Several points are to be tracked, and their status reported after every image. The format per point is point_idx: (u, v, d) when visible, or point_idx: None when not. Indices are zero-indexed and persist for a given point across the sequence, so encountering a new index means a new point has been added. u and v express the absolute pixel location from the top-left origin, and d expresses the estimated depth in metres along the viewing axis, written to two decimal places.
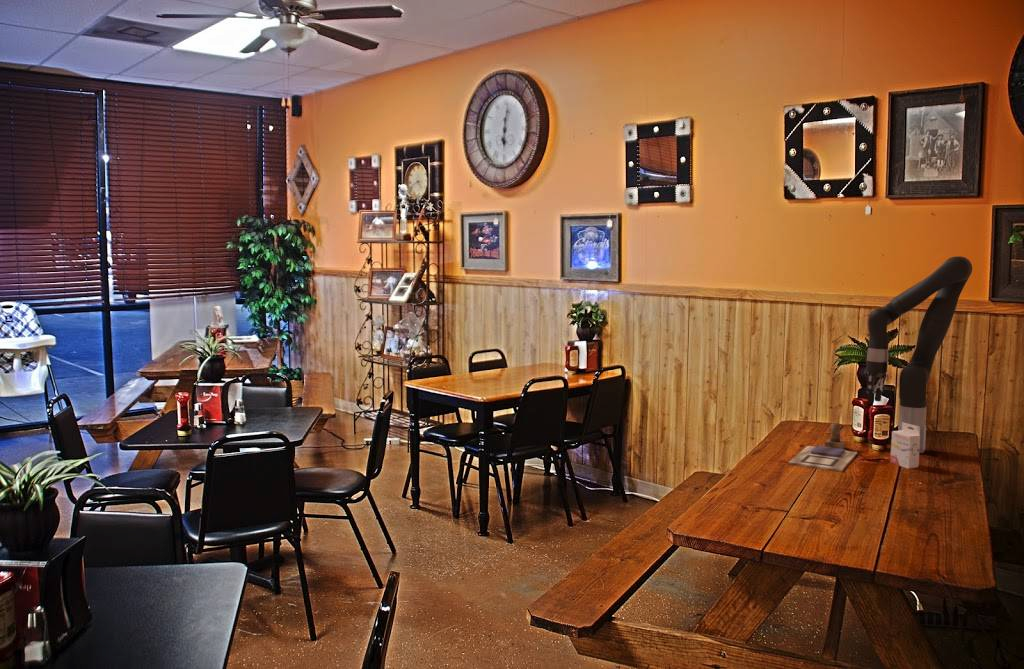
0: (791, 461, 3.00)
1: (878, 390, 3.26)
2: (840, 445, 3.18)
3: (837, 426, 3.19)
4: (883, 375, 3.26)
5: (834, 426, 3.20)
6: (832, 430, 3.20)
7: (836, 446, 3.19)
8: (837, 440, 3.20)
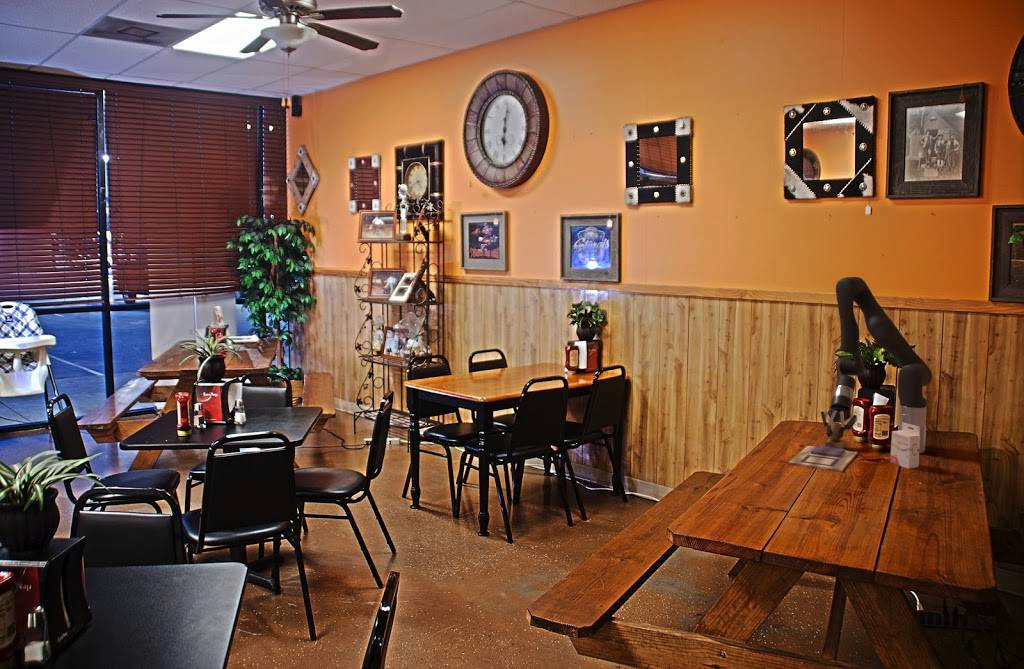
0: (791, 461, 3.00)
1: None
2: (840, 445, 3.18)
3: (837, 426, 3.19)
4: (854, 415, 3.21)
5: (834, 426, 3.20)
6: (832, 430, 3.20)
7: (836, 446, 3.19)
8: (837, 440, 3.20)
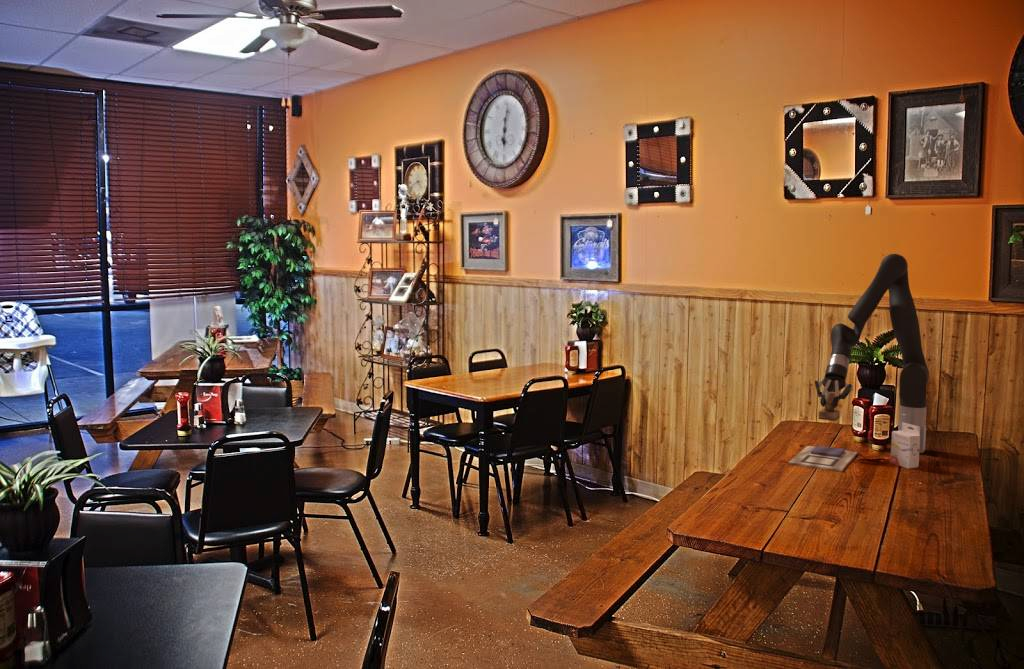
0: (791, 461, 3.00)
1: None
2: (834, 415, 3.06)
3: (831, 395, 3.08)
4: (849, 384, 3.10)
5: (828, 395, 3.08)
6: (826, 399, 3.09)
7: (830, 416, 3.07)
8: (831, 410, 3.09)
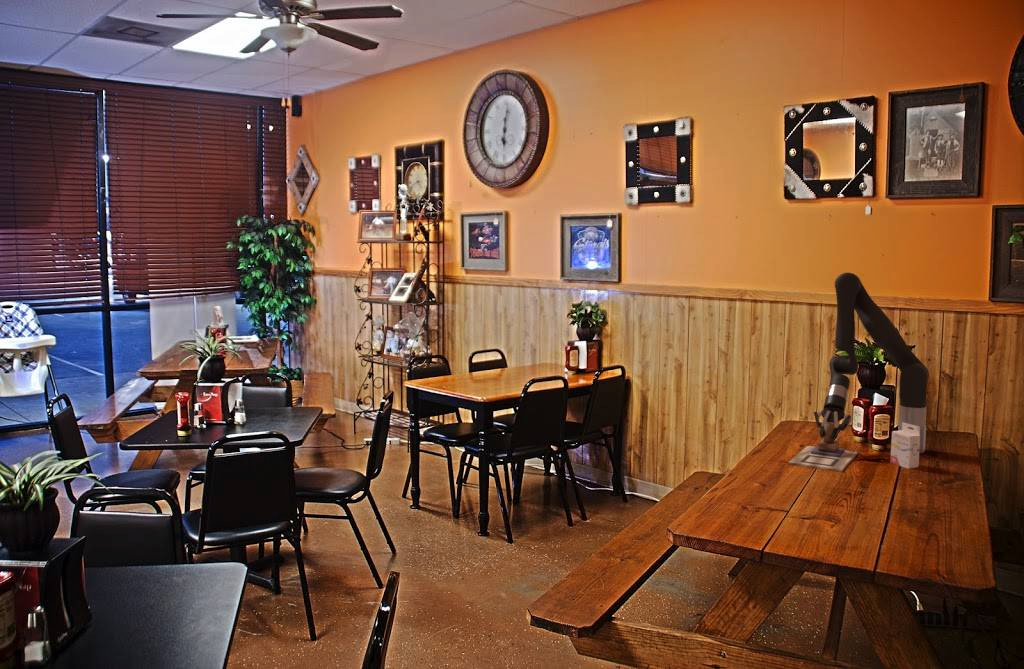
0: (791, 461, 3.00)
1: None
2: (834, 446, 3.08)
3: (830, 427, 3.09)
4: (848, 415, 3.11)
5: (827, 427, 3.09)
6: (825, 431, 3.10)
7: (830, 447, 3.08)
8: (831, 441, 3.10)
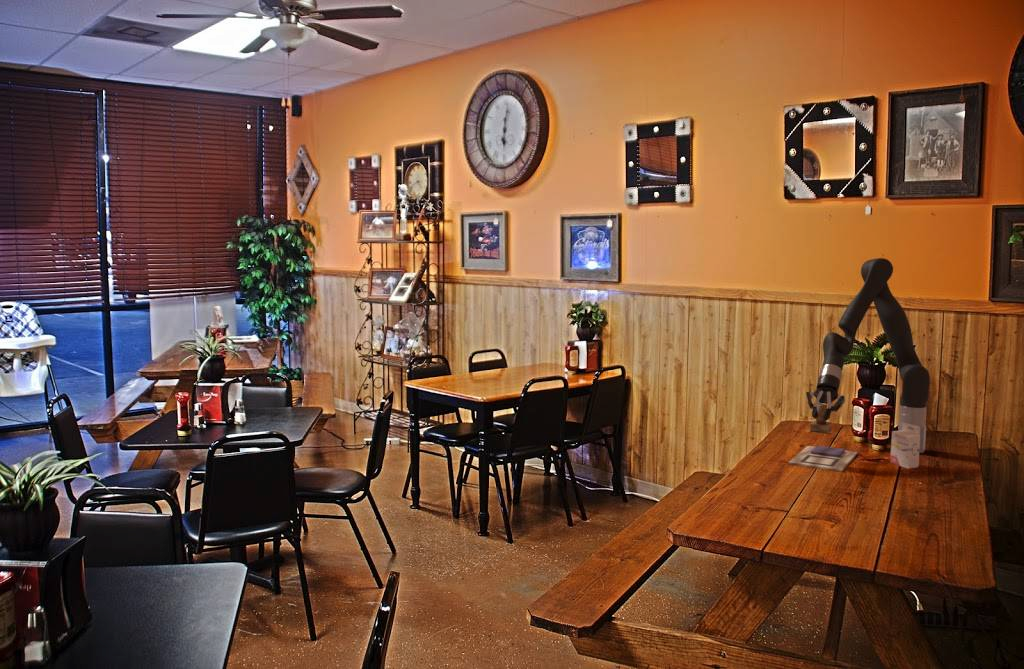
0: (791, 461, 3.00)
1: None
2: (826, 427, 2.96)
3: (823, 407, 2.97)
4: (841, 396, 2.99)
5: (820, 407, 2.97)
6: (818, 411, 2.98)
7: (822, 428, 2.96)
8: (823, 422, 2.98)
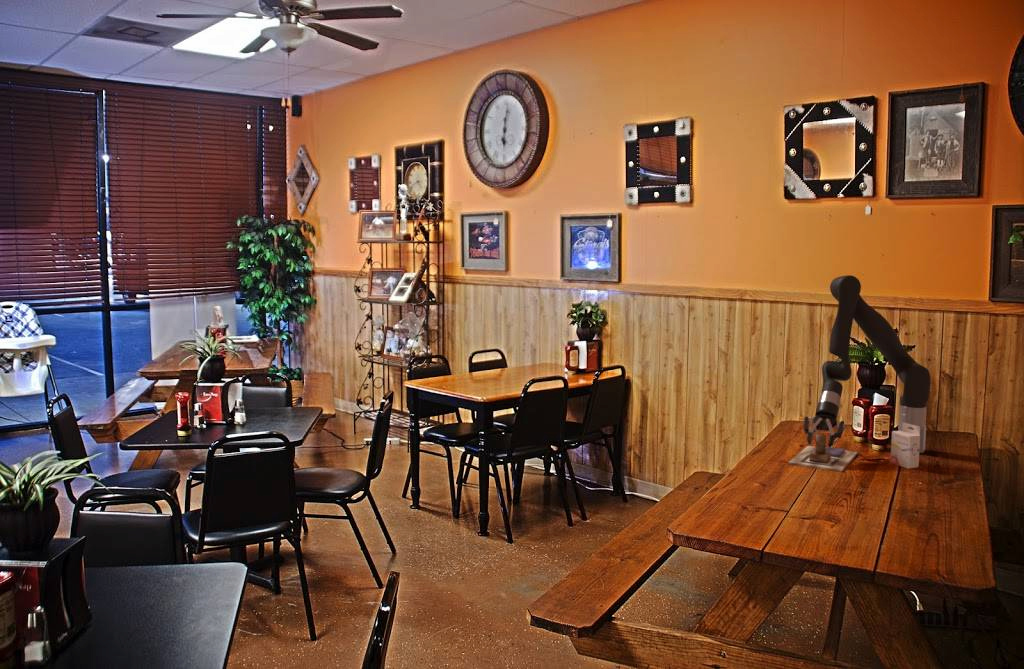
0: (791, 461, 3.00)
1: None
2: (825, 457, 2.97)
3: (822, 437, 2.98)
4: (841, 421, 3.00)
5: (819, 437, 2.99)
6: (817, 441, 3.00)
7: (821, 458, 2.98)
8: (822, 452, 2.99)
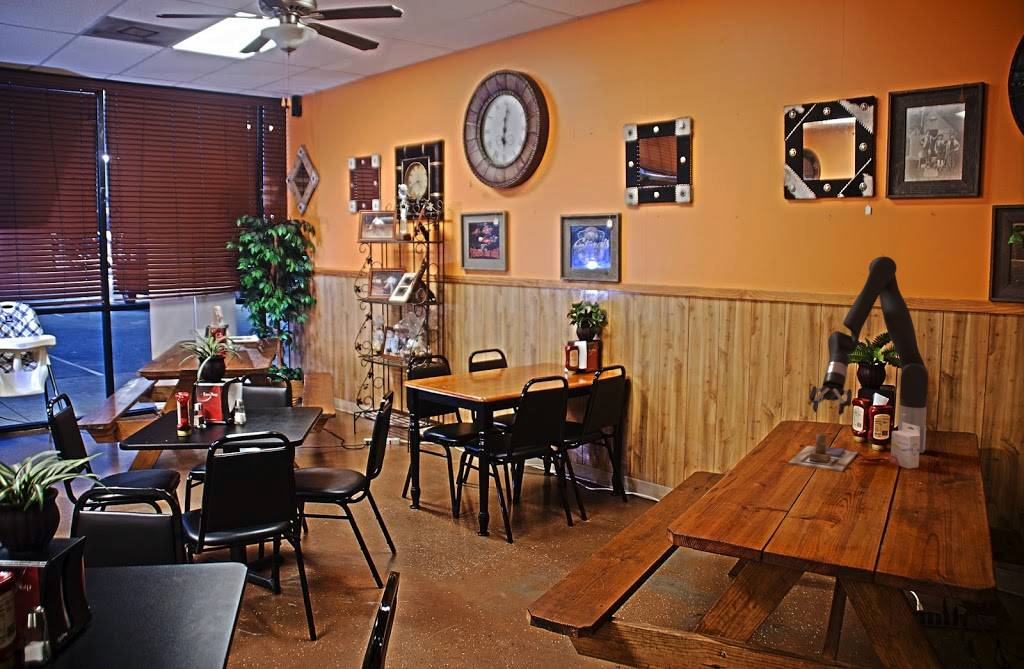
0: (791, 461, 3.00)
1: None
2: (825, 457, 2.97)
3: (822, 437, 2.98)
4: (848, 390, 3.07)
5: (819, 437, 2.99)
6: (817, 441, 3.00)
7: (821, 458, 2.98)
8: (822, 452, 2.99)
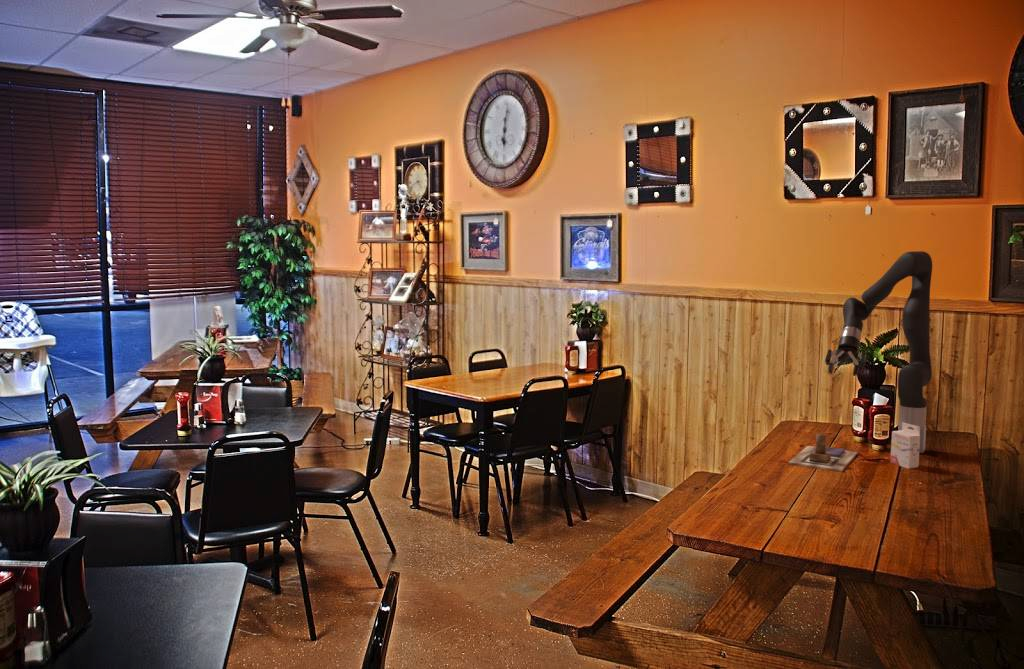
0: (791, 461, 3.00)
1: None
2: (825, 457, 2.97)
3: (822, 437, 2.98)
4: None
5: (819, 437, 2.99)
6: (817, 441, 3.00)
7: (821, 458, 2.98)
8: (822, 452, 2.99)
